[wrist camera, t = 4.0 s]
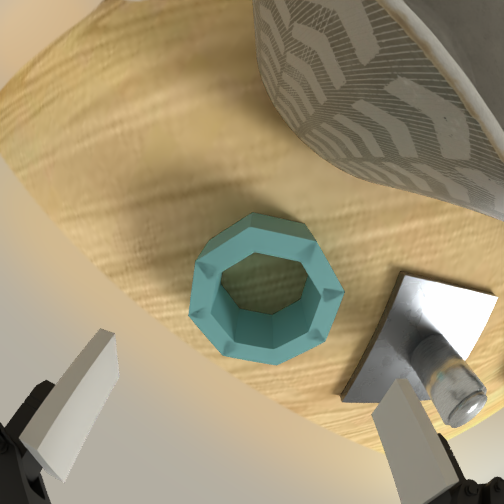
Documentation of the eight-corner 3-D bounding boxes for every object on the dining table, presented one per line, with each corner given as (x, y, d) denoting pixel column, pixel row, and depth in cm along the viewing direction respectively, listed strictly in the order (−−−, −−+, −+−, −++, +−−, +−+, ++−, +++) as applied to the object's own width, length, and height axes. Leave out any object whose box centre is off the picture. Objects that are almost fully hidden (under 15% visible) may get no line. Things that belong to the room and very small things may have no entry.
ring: (215, 204, 21) (202, 216, 16) (339, 231, 21) (358, 251, 17) (197, 314, 24) (184, 347, 20) (305, 334, 25) (312, 370, 20)
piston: (400, 271, 22) (467, 336, 12) (493, 293, 23) (547, 338, 13) (340, 396, 27) (359, 472, 17) (436, 394, 28) (466, 448, 18)
